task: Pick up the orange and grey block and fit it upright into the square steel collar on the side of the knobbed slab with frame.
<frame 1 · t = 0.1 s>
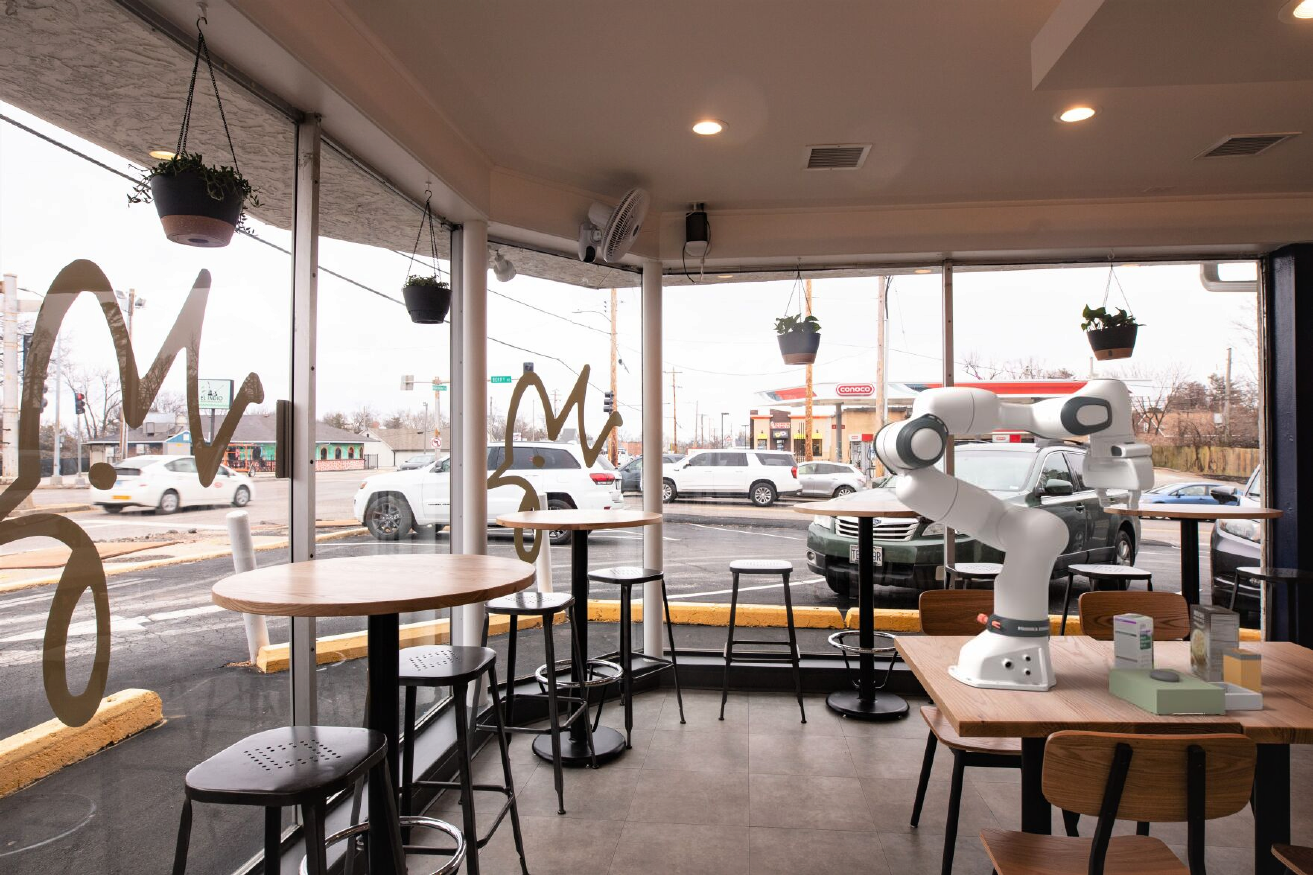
hand: (1118, 508, 171), 39 cm above the table, tool pointing down, fingers open, 8 cm apart
knobbed slab with frame: (1206, 702, 153), on the table
coffee box: (1214, 679, 171), on the table
orange and grey block: (1242, 693, 160), on the table
syrup box: (1133, 680, 169), on the table
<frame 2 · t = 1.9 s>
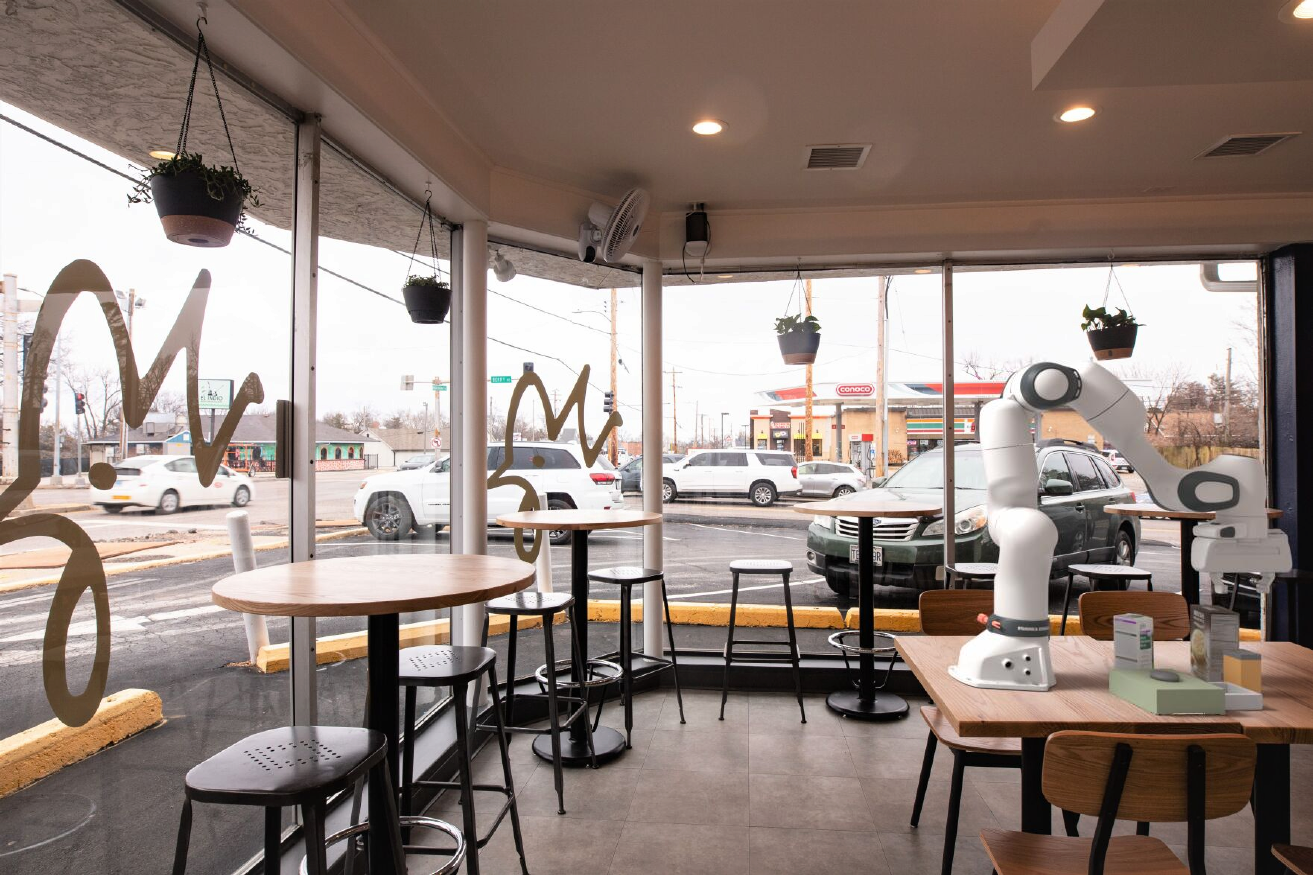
hand: (1242, 593, 160), 22 cm above the table, tool pointing down, fingers open, 8 cm apart
nothing on the table moved.
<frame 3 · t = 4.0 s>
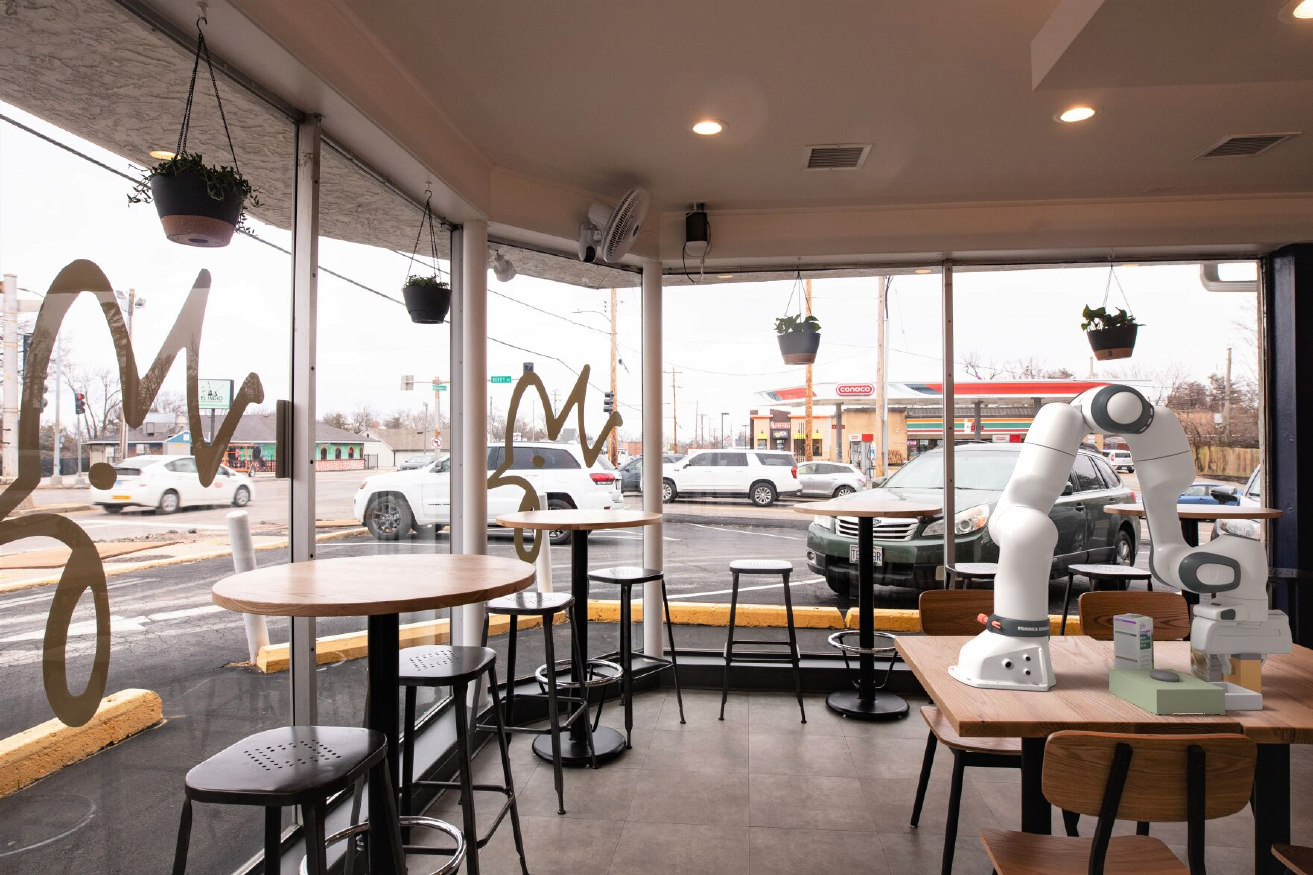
hand: (1242, 674, 160), 4 cm above the table, tool pointing down, fingers closed on orange and grey block, 4 cm apart
orange and grey block: (1242, 693, 160), on the table, touching gripper
everything else where it was.
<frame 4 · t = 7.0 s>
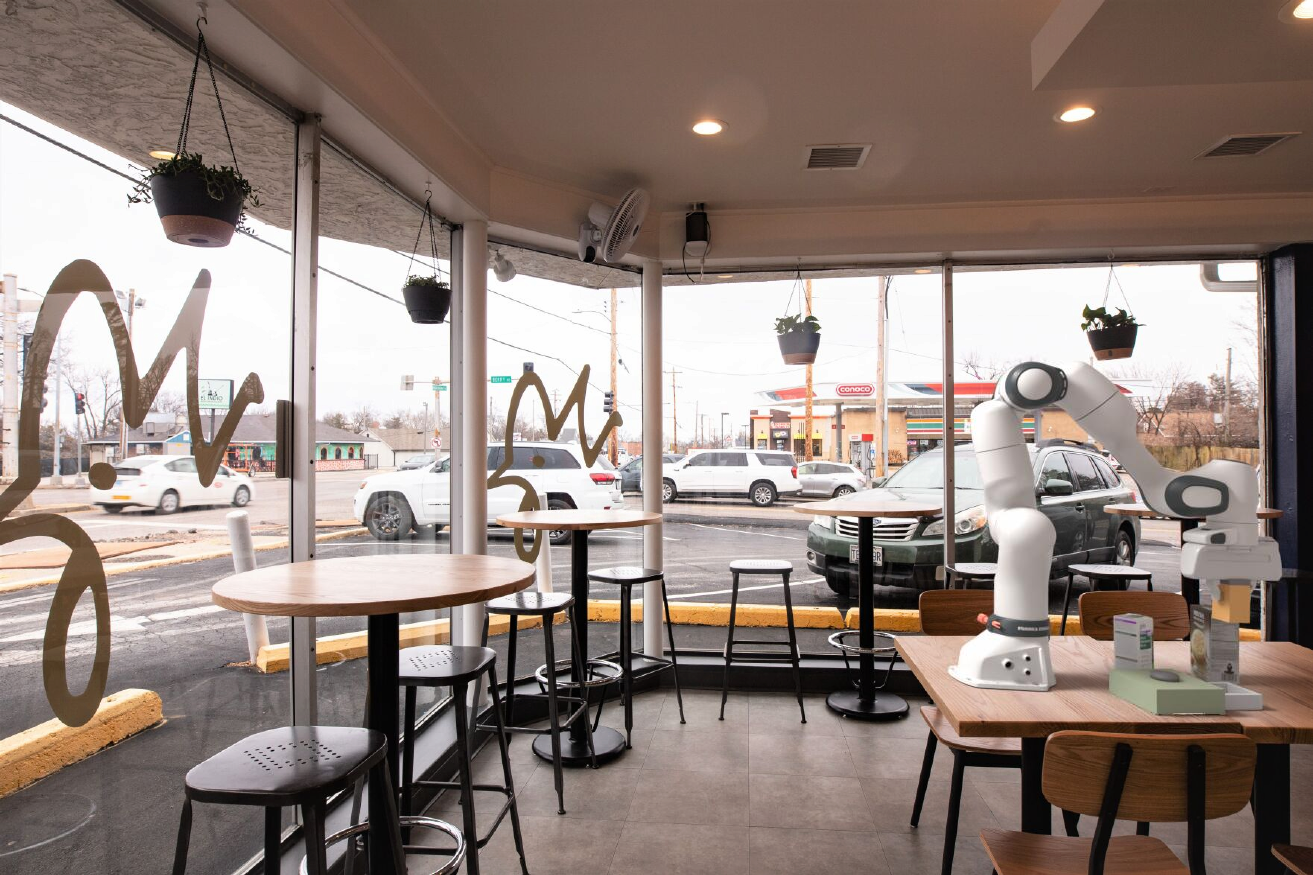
hand: (1230, 600, 157), 20 cm above the table, tool pointing down, fingers closed on orange and grey block, 4 cm apart
orange and grey block: (1230, 620, 157), point 16 cm above the table, touching gripper
everything else where it was.
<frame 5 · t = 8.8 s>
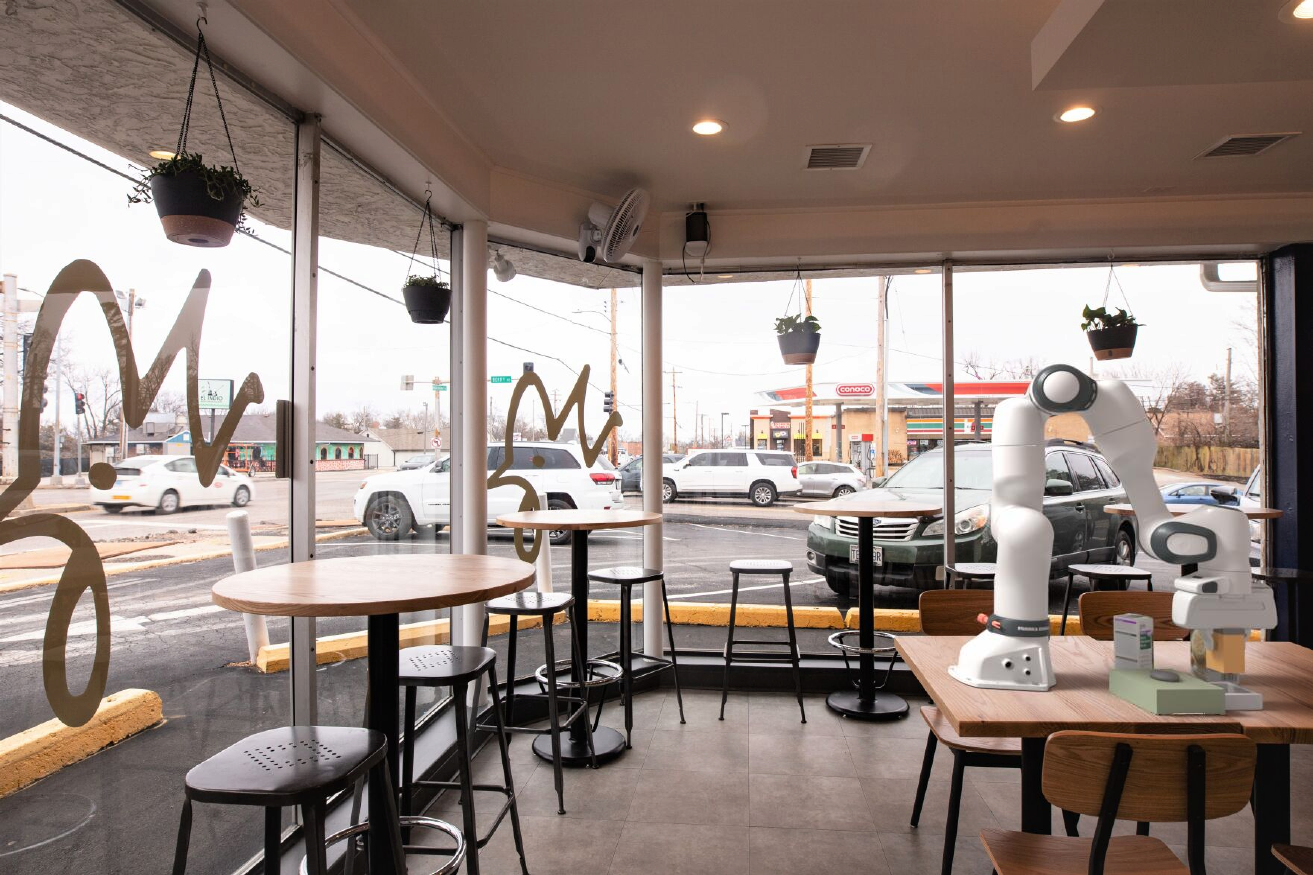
hand: (1224, 649, 154), 11 cm above the table, tool pointing down, fingers closed on orange and grey block, 4 cm apart
orange and grey block: (1225, 670, 153), point 7 cm above the table, touching gripper
everything else where it was.
when the fingers open (6 cm above the table, at t = 10.3 s): orange and grey block drops 1 cm, resting in knobbed slab with frame.
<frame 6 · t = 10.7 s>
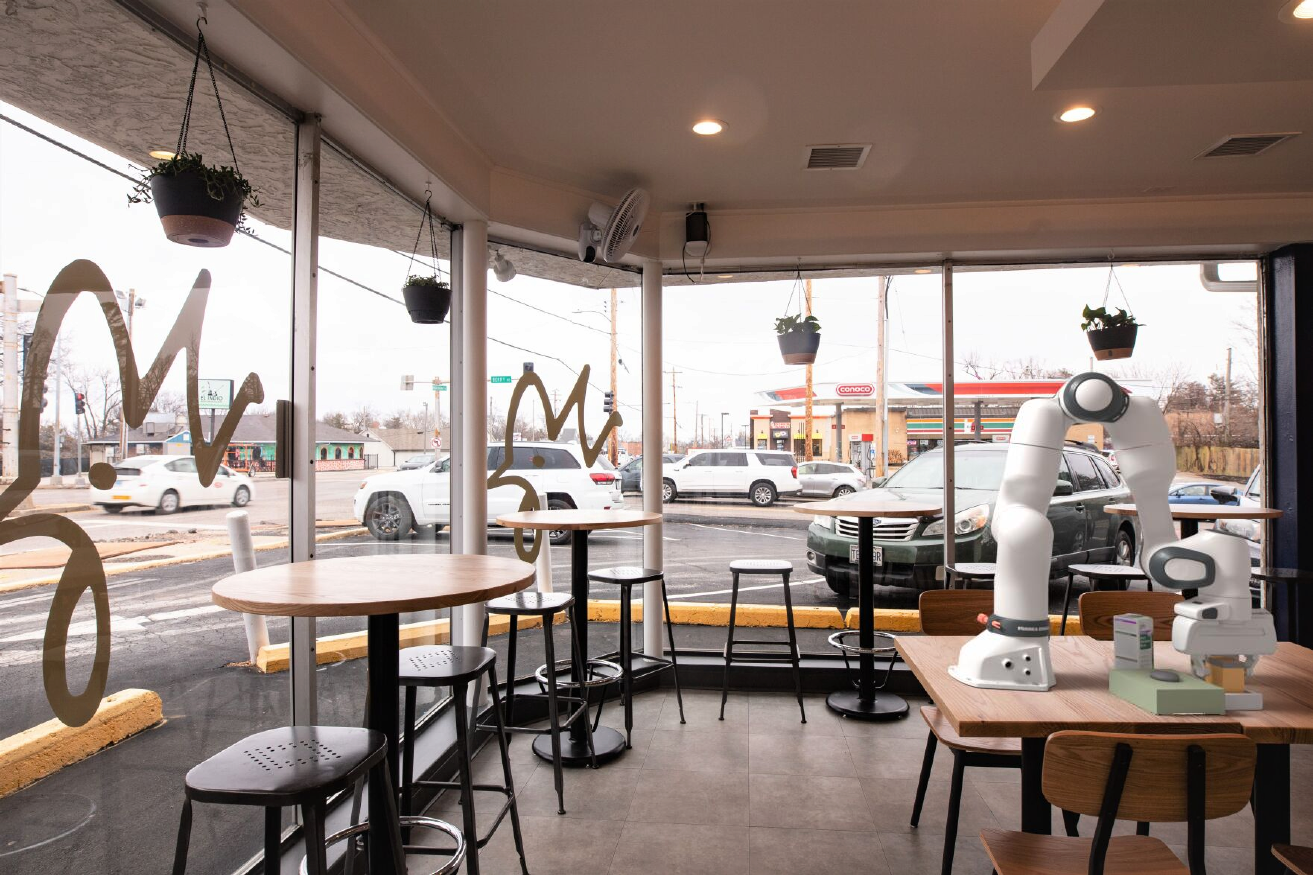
hand: (1224, 675, 154), 6 cm above the table, tool pointing down, fingers open, 8 cm apart
orange and grey block: (1224, 702, 153), resting in knobbed slab with frame
everything else where it was.
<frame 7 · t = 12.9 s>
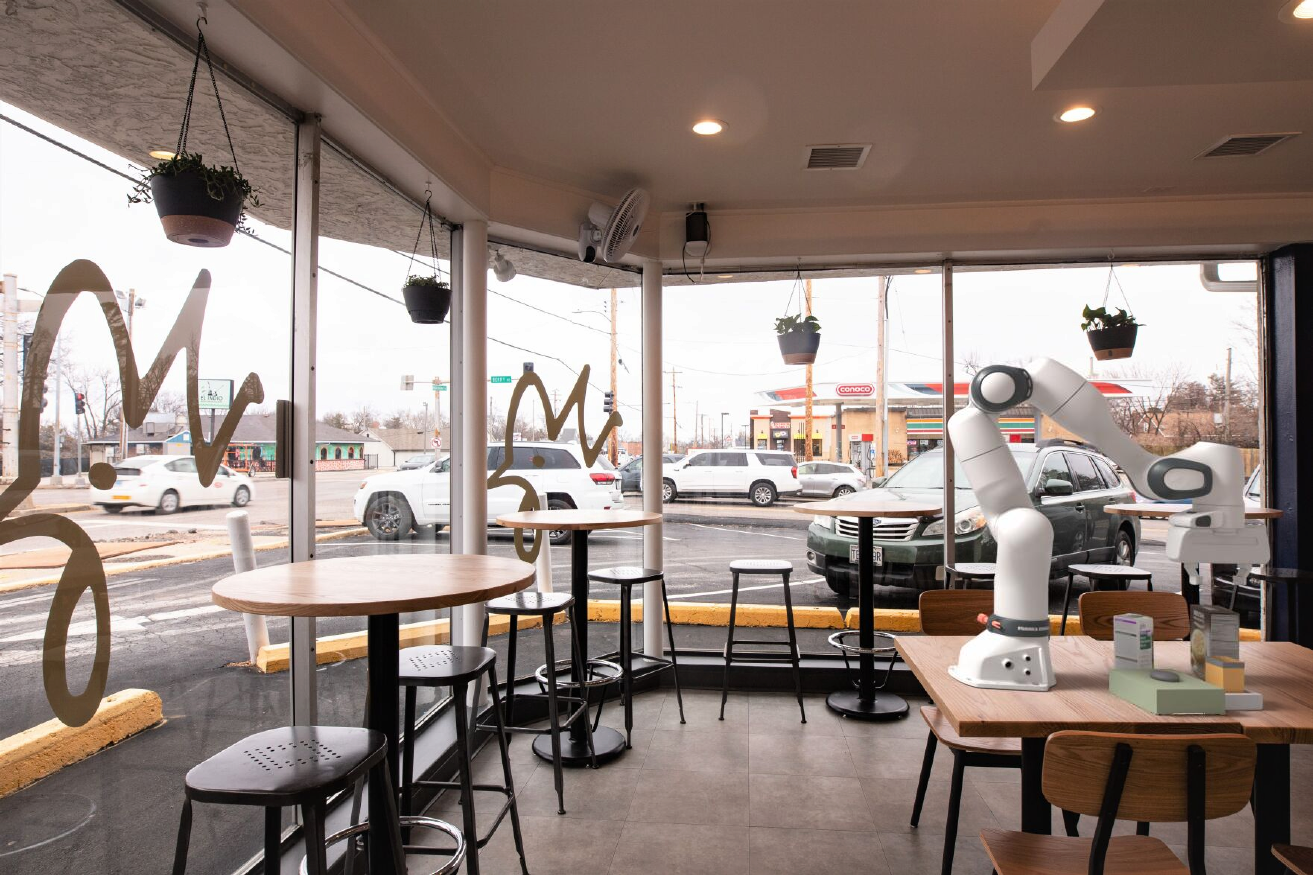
hand: (1217, 584, 155), 24 cm above the table, tool pointing down, fingers open, 8 cm apart
nothing on the table moved.
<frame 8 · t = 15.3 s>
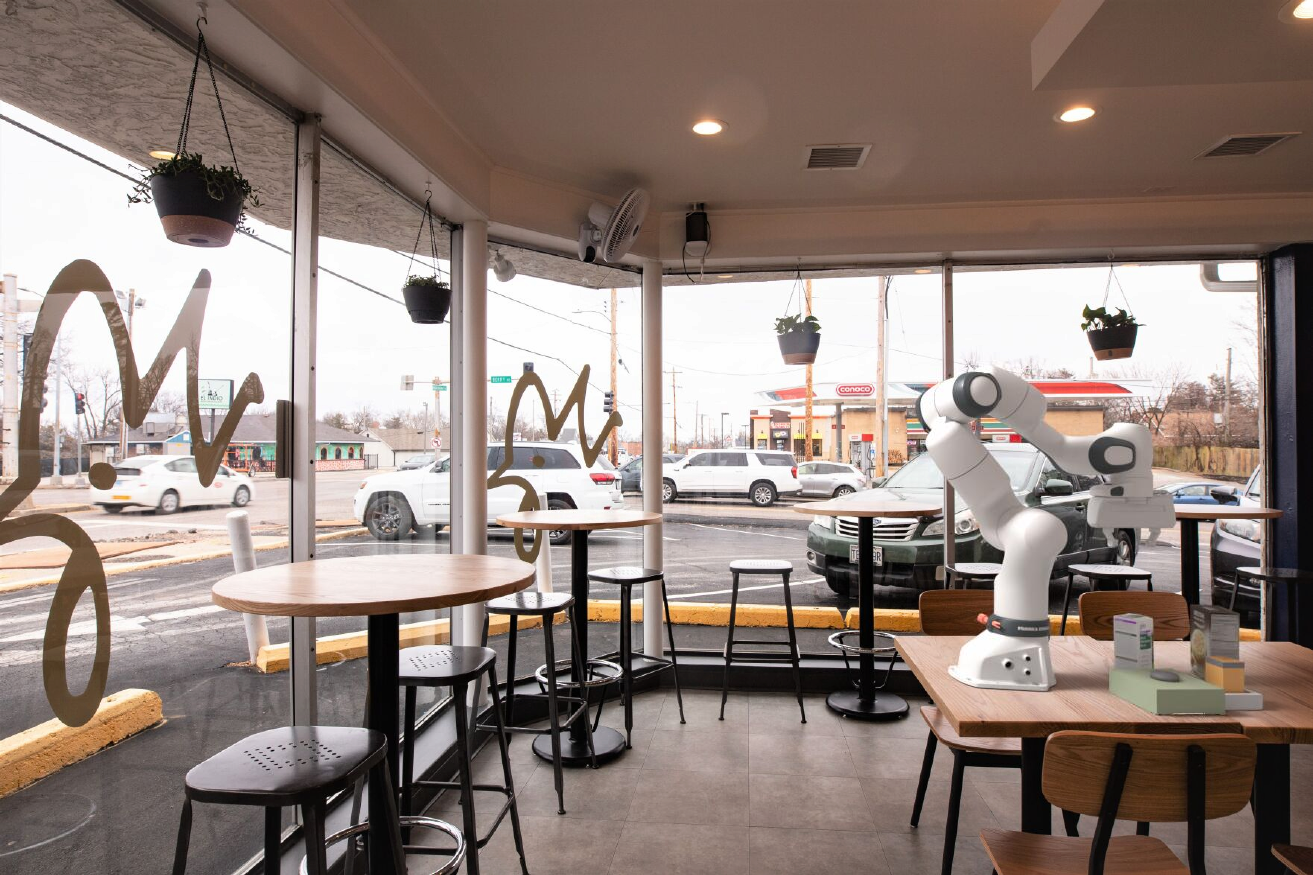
hand: (1131, 546, 179), 29 cm above the table, tool pointing down, fingers open, 8 cm apart
nothing on the table moved.
at the end: orange and grey block 0.1 cm from the target spot on the knobbed slab with frame, point 0.0 cm above the knobbed slab with frame's base; orange and grey block tilted 0°; the gripper is holding nothing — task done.
